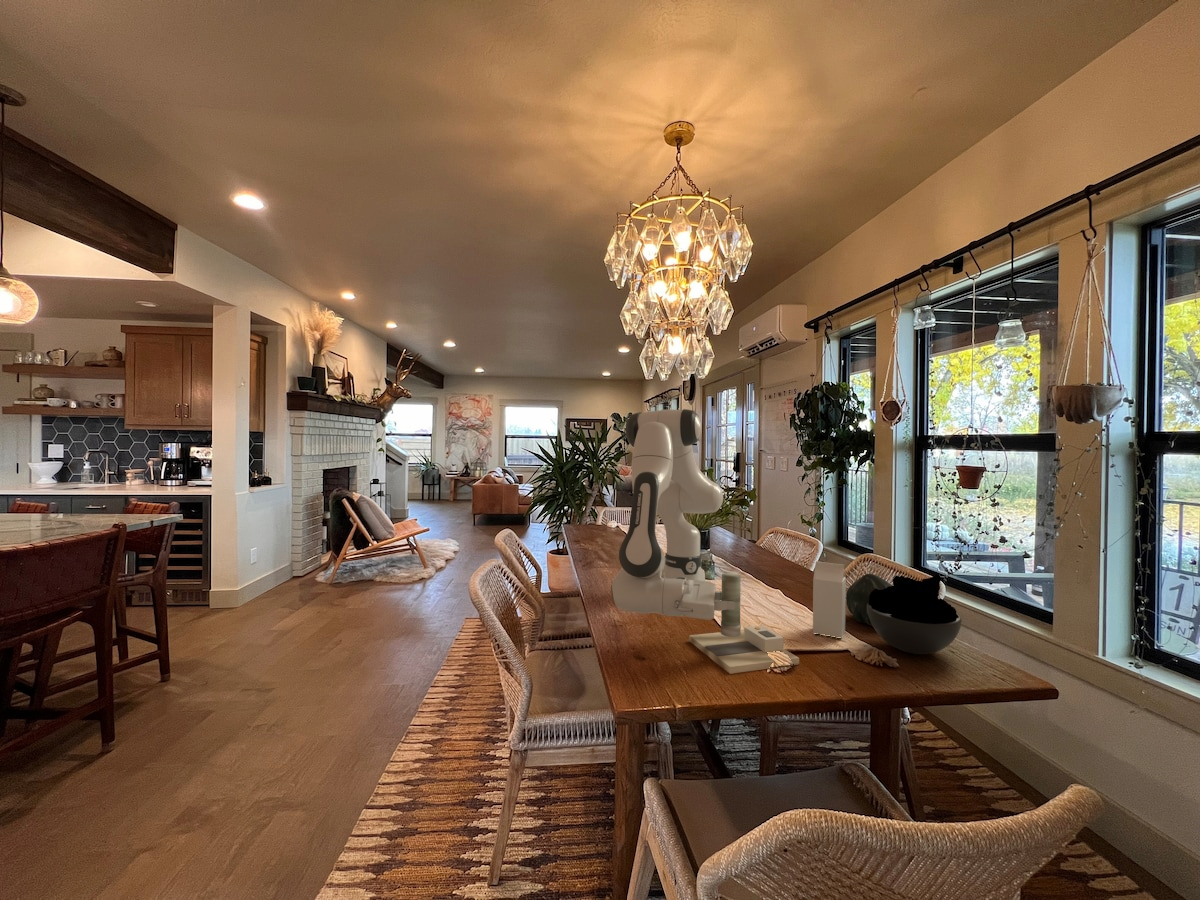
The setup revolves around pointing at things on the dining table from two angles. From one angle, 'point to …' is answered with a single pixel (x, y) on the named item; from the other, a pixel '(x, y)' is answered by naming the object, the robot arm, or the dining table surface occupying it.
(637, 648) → the dining table surface
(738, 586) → the green cylinder
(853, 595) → the squash
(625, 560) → the robot arm
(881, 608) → the heaped grey bowl
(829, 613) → the milk carton
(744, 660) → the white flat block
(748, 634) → the block
